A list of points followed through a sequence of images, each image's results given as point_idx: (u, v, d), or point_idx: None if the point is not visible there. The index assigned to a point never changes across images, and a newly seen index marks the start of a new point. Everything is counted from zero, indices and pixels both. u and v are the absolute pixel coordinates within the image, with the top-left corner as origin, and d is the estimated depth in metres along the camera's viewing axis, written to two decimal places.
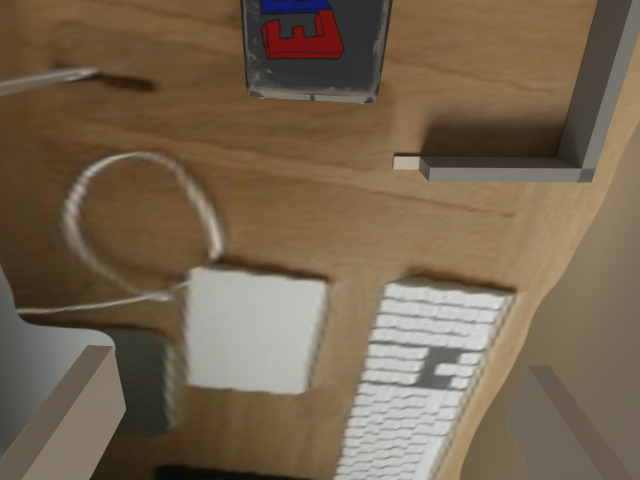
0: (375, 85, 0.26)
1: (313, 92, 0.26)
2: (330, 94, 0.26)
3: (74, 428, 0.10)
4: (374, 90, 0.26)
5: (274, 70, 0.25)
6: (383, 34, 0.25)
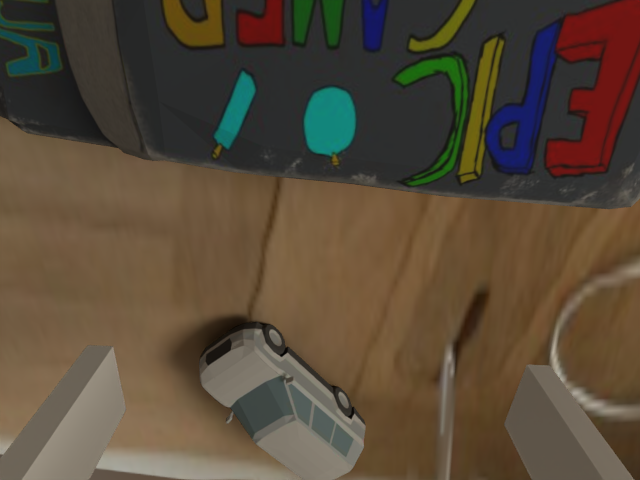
0: None
1: None
2: None
3: (74, 428, 0.10)
4: None
5: (631, 158, 0.12)
6: None
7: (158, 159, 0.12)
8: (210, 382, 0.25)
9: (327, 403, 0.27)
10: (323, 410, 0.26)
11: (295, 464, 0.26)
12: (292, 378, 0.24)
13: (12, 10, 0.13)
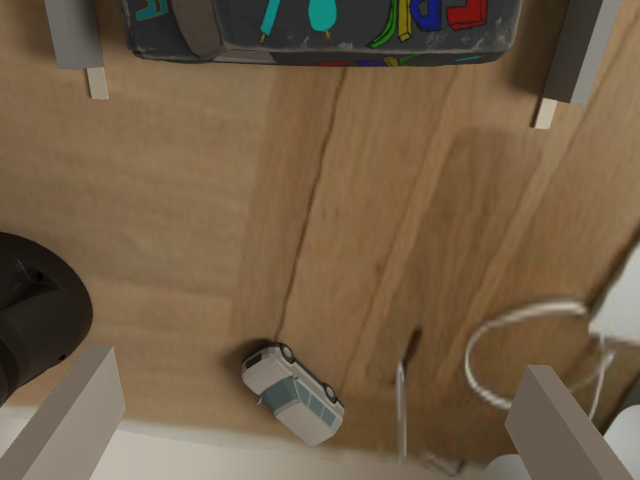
0: None
1: None
2: None
3: (74, 428, 0.10)
4: None
5: (498, 14, 0.21)
6: None
7: (230, 48, 0.22)
8: (248, 379, 0.41)
9: (319, 393, 0.43)
10: (316, 397, 0.43)
11: (299, 430, 0.42)
12: (297, 377, 0.41)
13: None
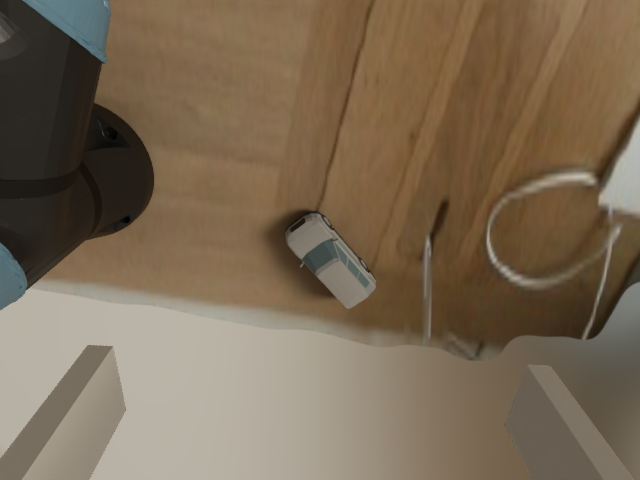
0: None
1: None
2: None
3: (74, 428, 0.10)
4: None
5: None
6: None
7: None
8: (292, 242, 0.46)
9: (355, 260, 0.48)
10: (353, 262, 0.47)
11: (337, 291, 0.47)
12: (337, 239, 0.45)
13: None
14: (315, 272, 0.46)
